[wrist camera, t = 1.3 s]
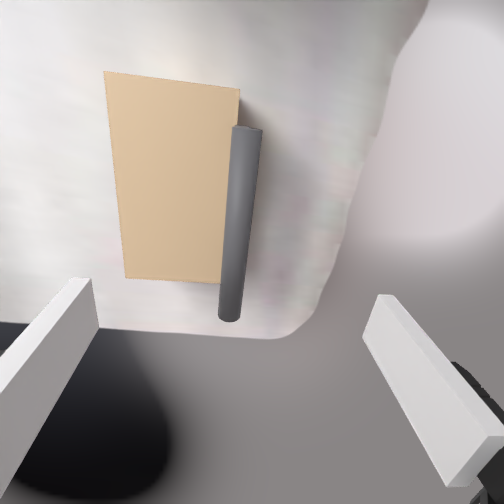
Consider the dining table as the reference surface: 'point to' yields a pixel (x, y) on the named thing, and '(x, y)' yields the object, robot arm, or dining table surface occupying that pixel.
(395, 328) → the robot arm
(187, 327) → the dining table surface
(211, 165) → the flap
